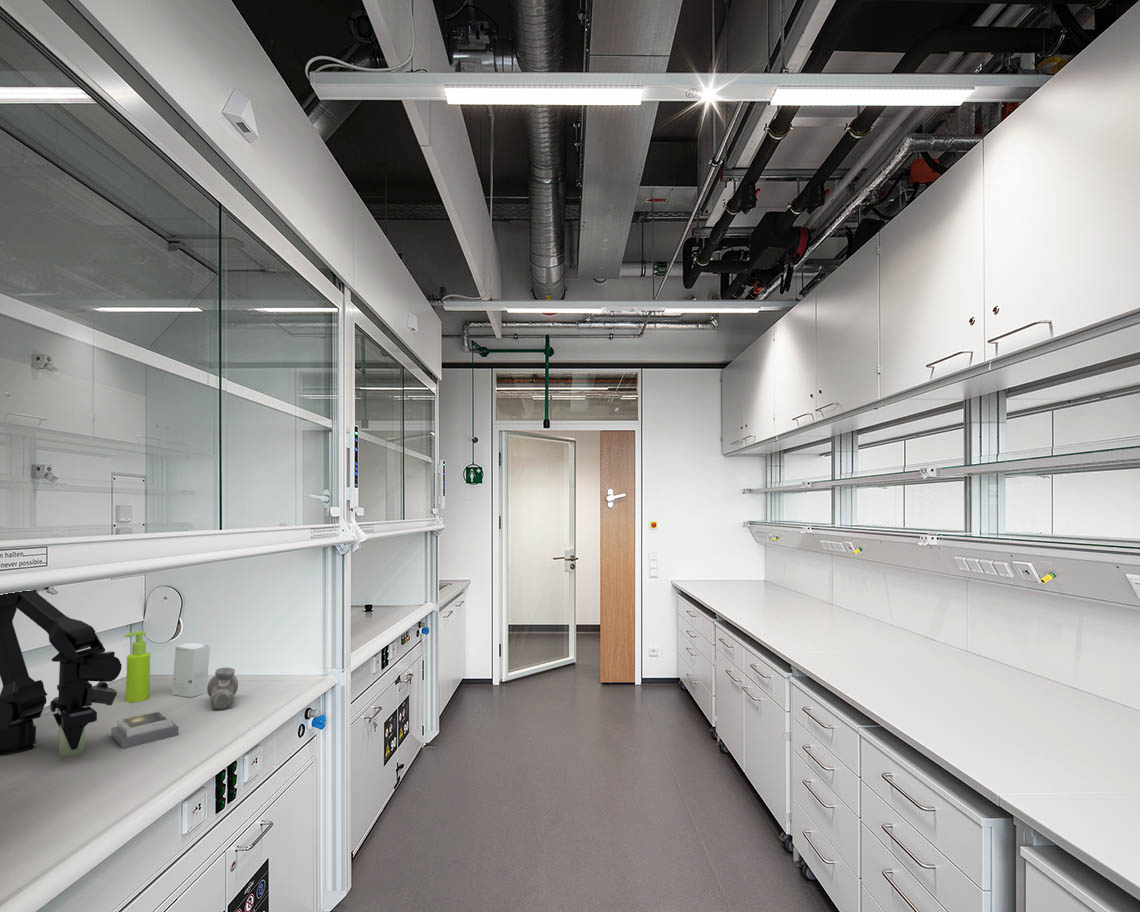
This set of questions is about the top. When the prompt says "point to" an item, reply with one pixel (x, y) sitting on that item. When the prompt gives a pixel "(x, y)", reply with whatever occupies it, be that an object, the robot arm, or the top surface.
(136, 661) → the soap dispenser
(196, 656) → the skincare box
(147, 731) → the grey square holder
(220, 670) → the pipe fitting
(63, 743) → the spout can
